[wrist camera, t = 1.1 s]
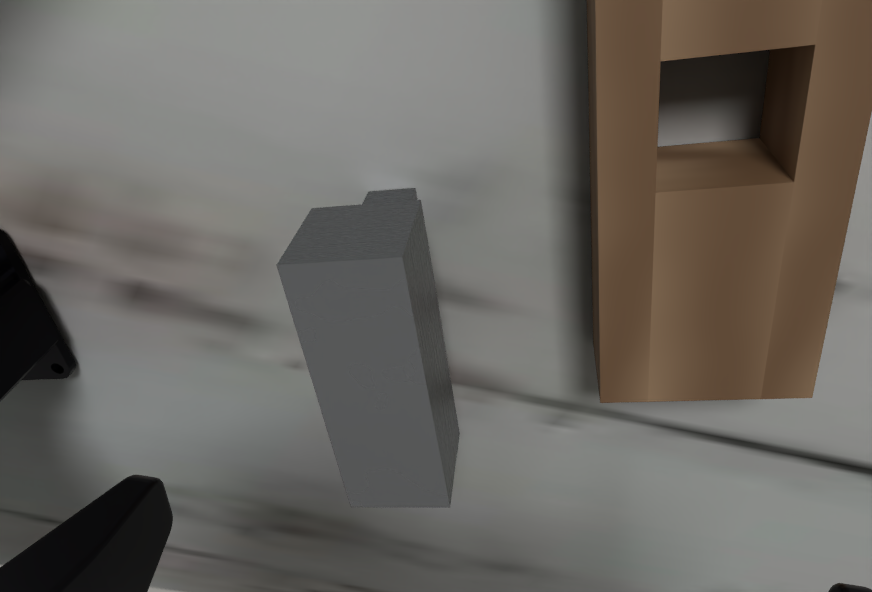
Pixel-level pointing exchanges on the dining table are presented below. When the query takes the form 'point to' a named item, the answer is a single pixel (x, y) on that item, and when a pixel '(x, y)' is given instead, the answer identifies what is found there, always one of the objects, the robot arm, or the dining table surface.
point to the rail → (721, 199)
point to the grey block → (376, 348)
